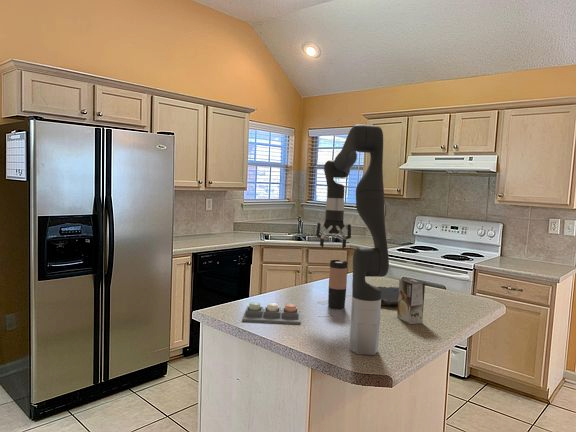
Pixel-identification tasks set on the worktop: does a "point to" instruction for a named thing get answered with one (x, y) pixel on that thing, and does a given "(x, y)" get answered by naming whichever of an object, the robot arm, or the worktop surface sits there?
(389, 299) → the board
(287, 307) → the terracotta button
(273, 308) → the cream button
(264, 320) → the button panel
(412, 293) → the coffee box
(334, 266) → the travel mug
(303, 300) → the worktop surface
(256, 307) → the sage button
